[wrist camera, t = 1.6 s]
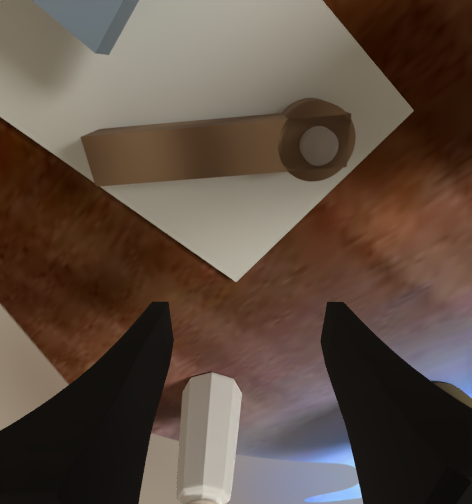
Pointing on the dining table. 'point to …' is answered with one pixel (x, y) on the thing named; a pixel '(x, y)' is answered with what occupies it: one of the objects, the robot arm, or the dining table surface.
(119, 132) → the link arm
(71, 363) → the dining table surface
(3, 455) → the robot arm
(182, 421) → the pepper shaker
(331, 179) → the keeper board
